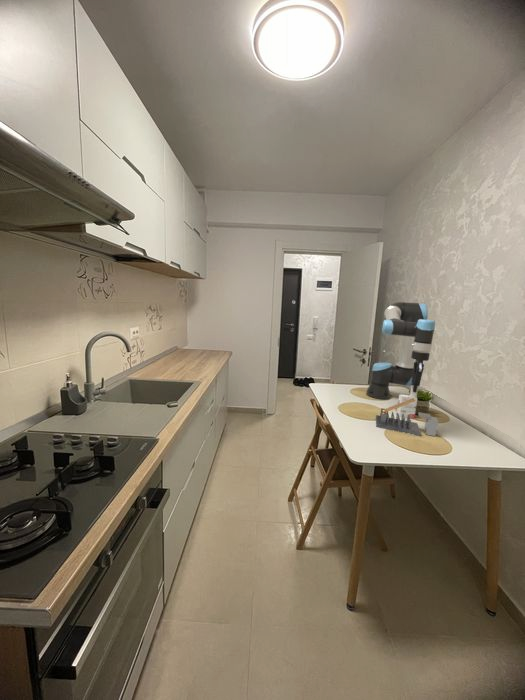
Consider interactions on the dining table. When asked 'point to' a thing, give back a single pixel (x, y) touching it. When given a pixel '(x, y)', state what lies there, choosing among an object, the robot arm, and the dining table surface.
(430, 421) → the block
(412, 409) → the ink box
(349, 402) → the dining table surface
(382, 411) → the strap
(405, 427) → the heatsink
